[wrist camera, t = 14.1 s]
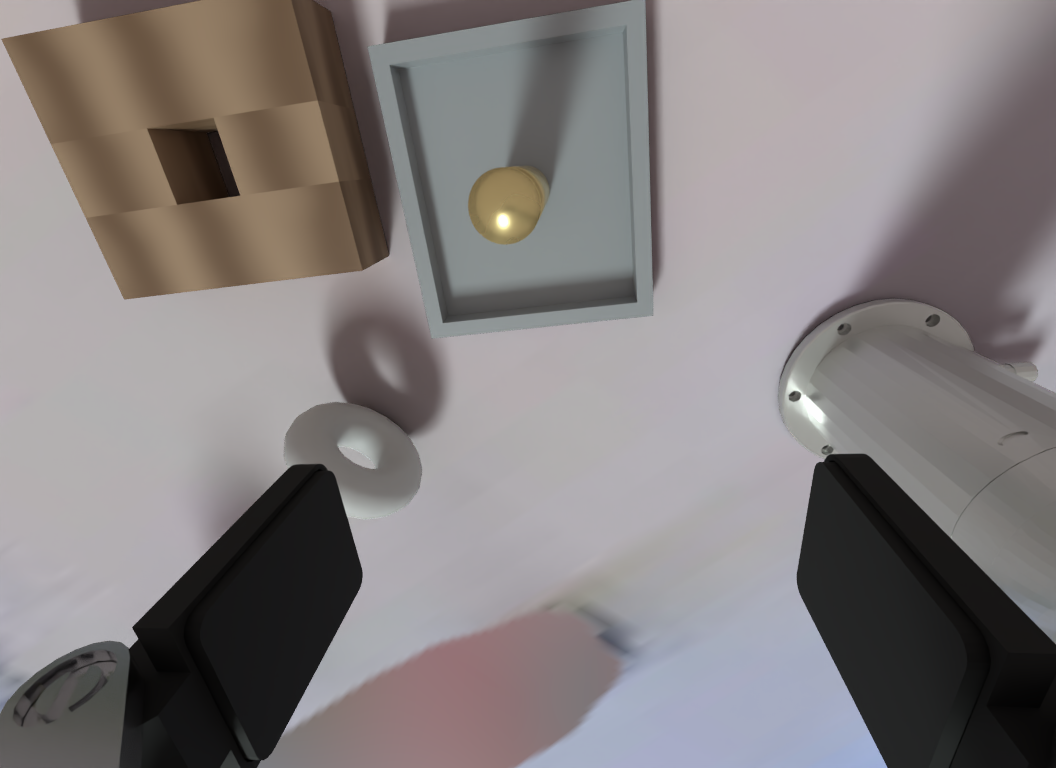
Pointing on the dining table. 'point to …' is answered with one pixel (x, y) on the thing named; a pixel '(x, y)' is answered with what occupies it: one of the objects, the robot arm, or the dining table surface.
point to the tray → (526, 140)
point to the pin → (508, 203)
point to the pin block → (208, 142)
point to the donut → (369, 435)
